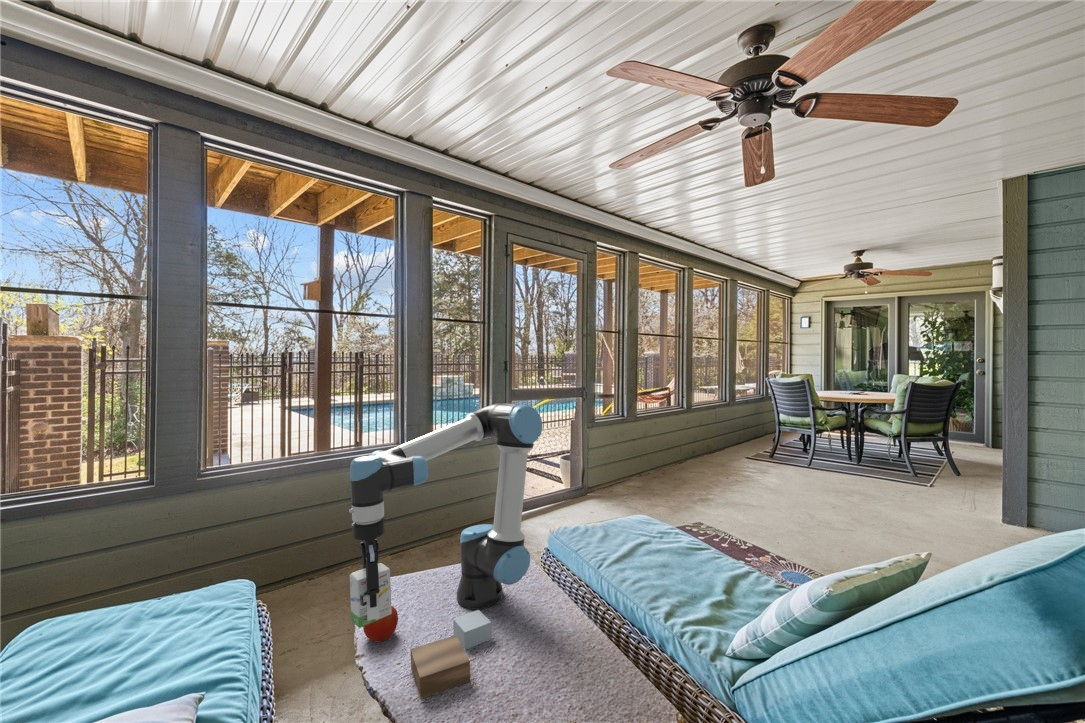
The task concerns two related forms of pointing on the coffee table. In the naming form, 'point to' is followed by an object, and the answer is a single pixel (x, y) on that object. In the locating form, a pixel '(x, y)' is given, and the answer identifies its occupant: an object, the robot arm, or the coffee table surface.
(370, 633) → the fruit
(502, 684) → the coffee table surface
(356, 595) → the ink box
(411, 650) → the walnut block
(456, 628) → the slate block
